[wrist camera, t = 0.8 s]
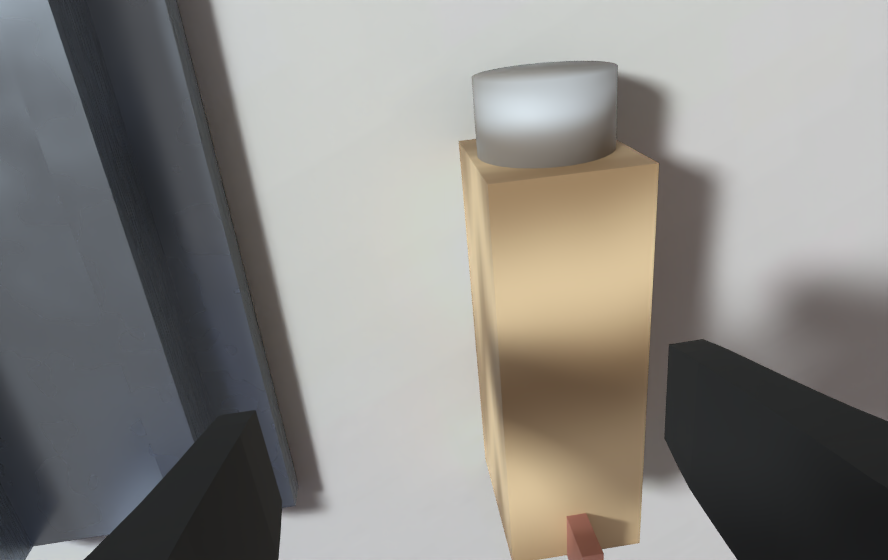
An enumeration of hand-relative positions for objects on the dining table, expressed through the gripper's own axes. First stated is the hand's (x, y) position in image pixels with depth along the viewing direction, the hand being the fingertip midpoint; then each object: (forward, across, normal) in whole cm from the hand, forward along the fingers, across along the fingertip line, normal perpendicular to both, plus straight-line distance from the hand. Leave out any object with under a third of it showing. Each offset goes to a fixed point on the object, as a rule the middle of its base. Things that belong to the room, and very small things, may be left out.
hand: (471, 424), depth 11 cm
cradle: (+10, +12, 0) cm, 15 cm away
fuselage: (+10, -3, +3) cm, 11 cm away
